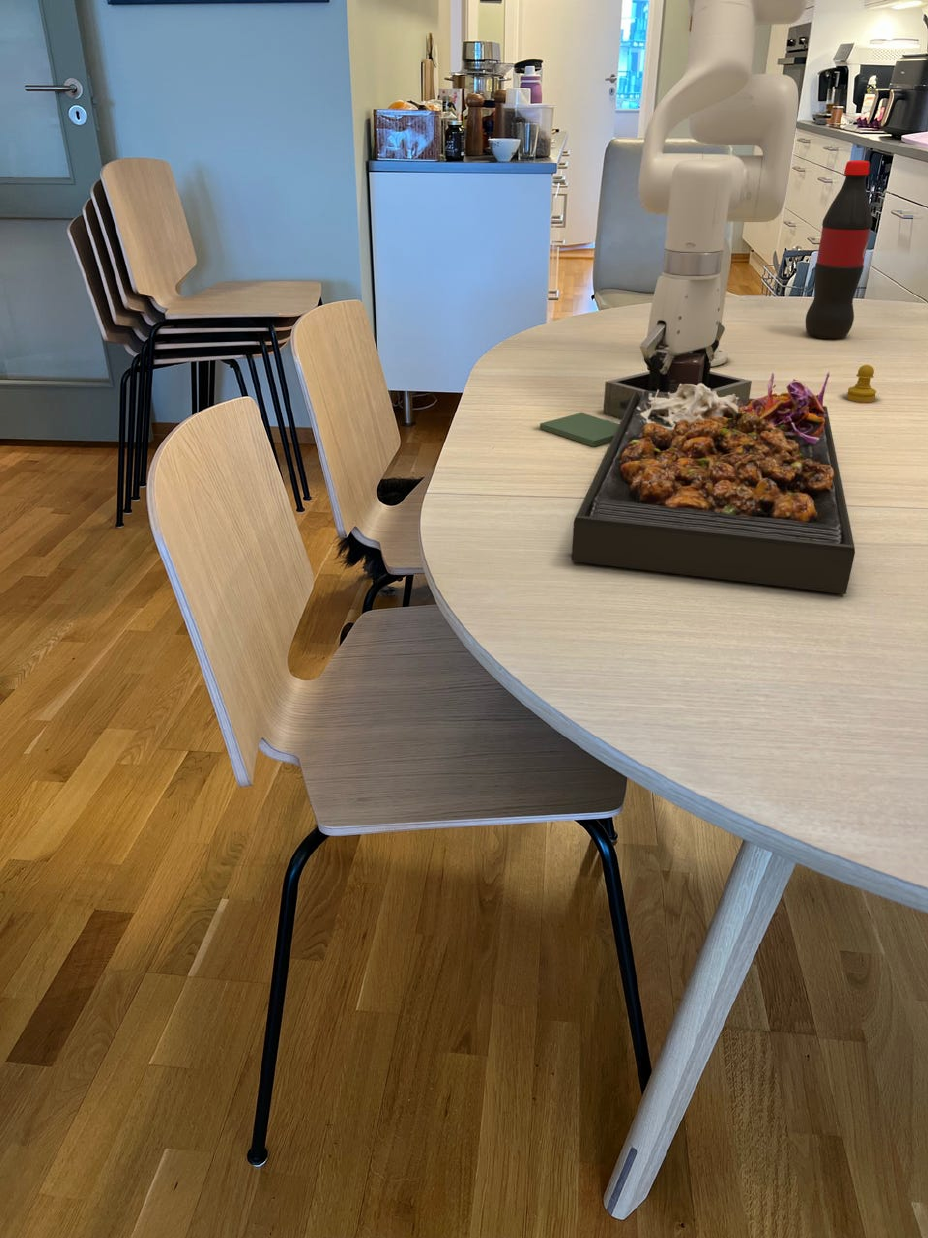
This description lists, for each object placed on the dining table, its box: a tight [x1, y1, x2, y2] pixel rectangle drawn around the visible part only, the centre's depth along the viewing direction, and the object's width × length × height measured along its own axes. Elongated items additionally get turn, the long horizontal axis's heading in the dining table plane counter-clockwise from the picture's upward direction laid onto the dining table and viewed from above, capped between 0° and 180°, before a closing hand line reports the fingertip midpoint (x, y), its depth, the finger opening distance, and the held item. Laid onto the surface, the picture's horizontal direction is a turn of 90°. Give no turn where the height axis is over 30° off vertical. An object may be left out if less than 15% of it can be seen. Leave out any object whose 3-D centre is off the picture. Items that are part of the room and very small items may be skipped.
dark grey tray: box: [602, 370, 753, 420], centre depth 130 cm, size 13×16×4 cm
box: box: [660, 352, 705, 393], centre depth 130 cm, size 6×6×7 cm
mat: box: [539, 411, 620, 448], centre depth 123 cm, size 10×8×1 cm
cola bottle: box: [805, 159, 873, 340], centre depth 168 cm, size 8×8×30 cm
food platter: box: [571, 371, 856, 595], centre depth 101 cm, size 45×25×10 cm, turn 164°
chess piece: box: [846, 364, 877, 403], centre depth 136 cm, size 4×4×5 cm
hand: (677, 393), depth 130 cm, fingers closed on box, 8 cm apart
